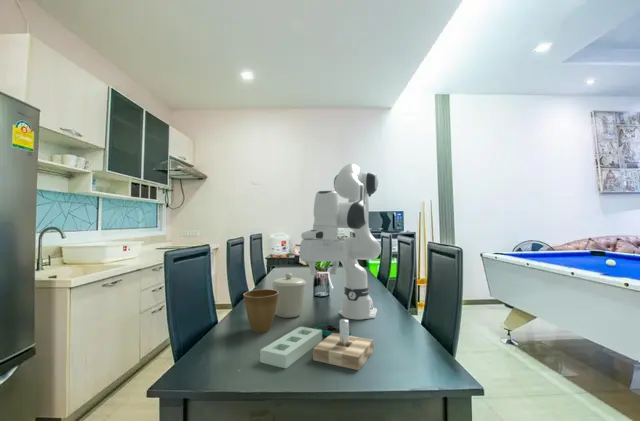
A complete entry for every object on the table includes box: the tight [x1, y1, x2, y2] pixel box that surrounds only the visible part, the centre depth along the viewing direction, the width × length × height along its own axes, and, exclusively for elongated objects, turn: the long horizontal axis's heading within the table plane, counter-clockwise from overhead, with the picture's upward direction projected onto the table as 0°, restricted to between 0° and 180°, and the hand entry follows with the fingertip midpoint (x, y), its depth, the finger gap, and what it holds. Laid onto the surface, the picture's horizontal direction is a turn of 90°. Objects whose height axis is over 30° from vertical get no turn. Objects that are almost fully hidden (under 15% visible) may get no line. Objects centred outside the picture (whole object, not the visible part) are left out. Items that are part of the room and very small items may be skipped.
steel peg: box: [339, 318, 350, 347], centre depth 105 cm, size 3×3×12 cm
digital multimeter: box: [314, 323, 352, 338], centre depth 125 cm, size 7×15×3 cm, turn 42°
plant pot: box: [243, 288, 278, 334], centre depth 131 cm, size 15×15×16 cm
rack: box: [259, 326, 323, 369], centre depth 109 cm, size 26×10×4 cm, turn 154°
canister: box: [270, 272, 307, 319], centre depth 153 cm, size 18×18×21 cm
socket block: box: [312, 333, 375, 371], centre depth 105 cm, size 16×16×4 cm
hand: (323, 274), depth 105 cm, fingers open, 8 cm apart
